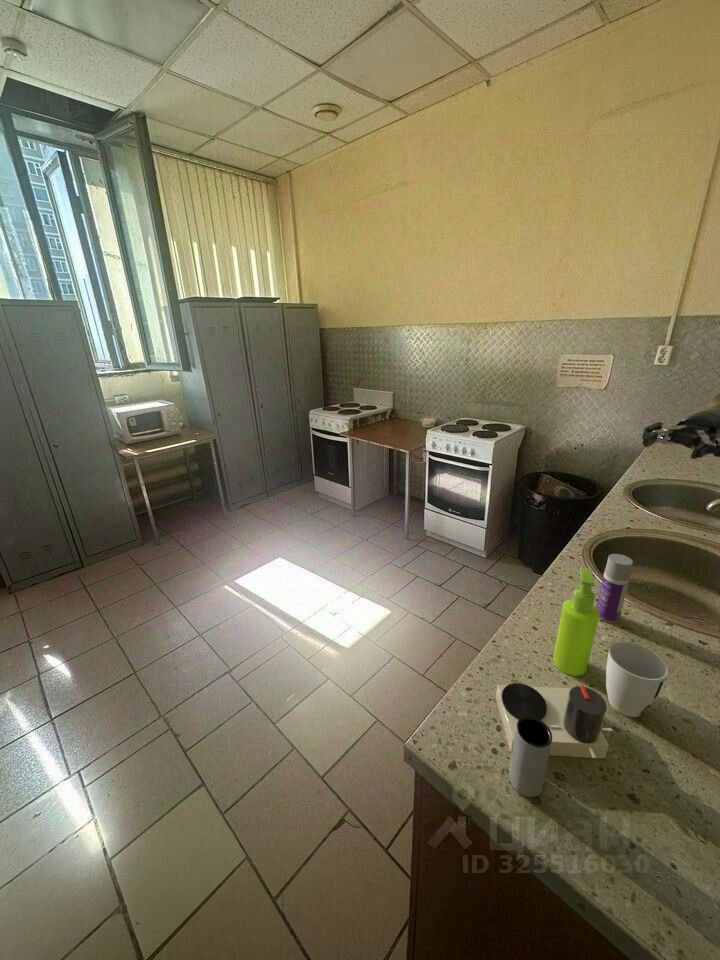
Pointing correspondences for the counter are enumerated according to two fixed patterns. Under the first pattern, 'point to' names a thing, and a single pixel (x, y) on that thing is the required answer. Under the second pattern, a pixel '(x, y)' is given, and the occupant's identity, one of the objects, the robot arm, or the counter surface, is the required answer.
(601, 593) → the container
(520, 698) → the hotplate
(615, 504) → the counter surface
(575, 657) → the soap dispenser
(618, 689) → the cup
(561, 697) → the hob
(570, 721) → the knob
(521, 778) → the planter
